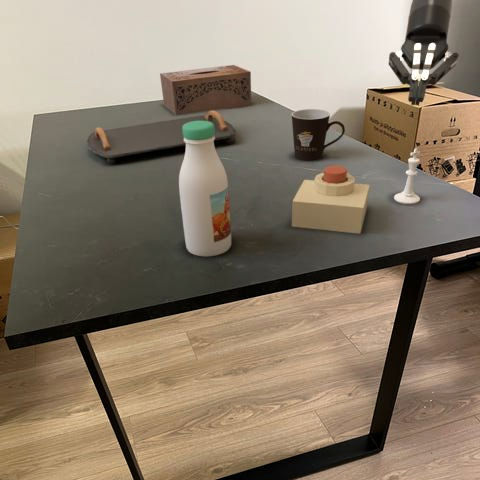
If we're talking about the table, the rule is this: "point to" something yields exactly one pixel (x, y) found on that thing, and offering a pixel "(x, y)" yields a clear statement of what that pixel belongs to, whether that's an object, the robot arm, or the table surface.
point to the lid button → (335, 174)
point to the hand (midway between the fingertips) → (415, 102)
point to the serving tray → (152, 136)
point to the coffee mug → (311, 133)
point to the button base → (330, 205)
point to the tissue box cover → (206, 89)
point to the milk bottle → (204, 193)
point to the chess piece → (409, 182)
